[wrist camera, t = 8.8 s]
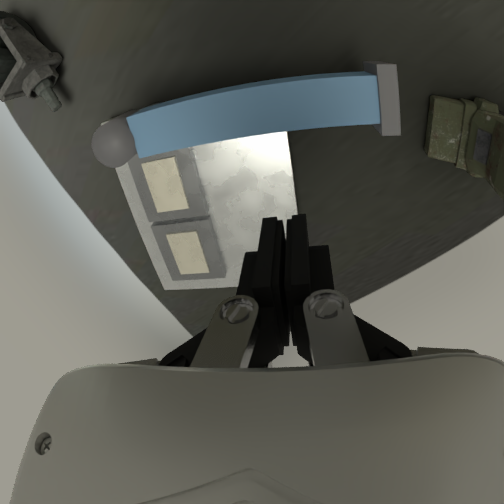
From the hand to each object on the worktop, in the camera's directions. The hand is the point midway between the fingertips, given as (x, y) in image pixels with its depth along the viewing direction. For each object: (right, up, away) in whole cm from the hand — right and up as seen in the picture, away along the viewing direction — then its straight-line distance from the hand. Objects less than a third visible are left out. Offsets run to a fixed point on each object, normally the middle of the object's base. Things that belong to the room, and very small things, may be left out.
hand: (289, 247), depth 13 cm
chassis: (-5, +5, +18) cm, 19 cm away
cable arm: (-2, +10, +8) cm, 13 cm away
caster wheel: (-24, +20, +10) cm, 32 cm away
